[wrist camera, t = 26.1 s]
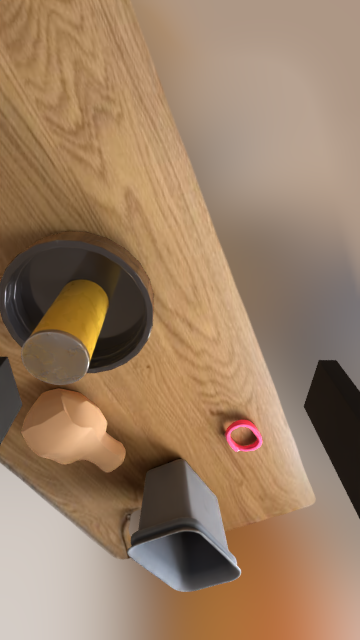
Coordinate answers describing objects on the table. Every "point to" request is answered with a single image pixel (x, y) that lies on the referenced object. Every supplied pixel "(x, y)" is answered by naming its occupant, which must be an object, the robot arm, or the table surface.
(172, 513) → the storage bin
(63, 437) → the squash
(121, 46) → the table surface
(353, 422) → the robot arm
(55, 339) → the corn can
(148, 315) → the pan
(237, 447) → the fitness band
